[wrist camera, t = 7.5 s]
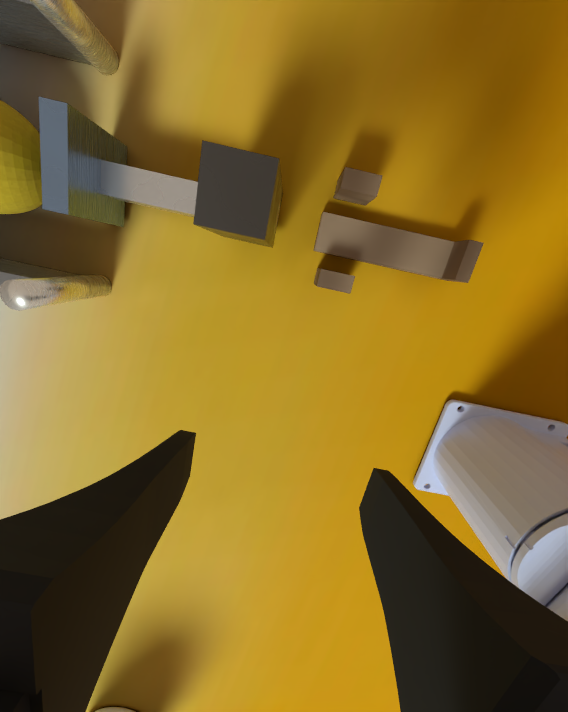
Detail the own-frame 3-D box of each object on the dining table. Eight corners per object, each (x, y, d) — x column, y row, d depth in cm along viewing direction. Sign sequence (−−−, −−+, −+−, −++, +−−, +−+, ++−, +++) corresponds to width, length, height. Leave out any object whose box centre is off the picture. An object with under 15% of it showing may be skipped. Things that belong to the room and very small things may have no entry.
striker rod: (285, 183, 17) (283, 137, 11) (271, 259, 19) (261, 257, 12) (106, 141, 17) (-2, 69, 11) (104, 222, 18) (6, 201, 12)
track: (472, 211, 18) (500, 203, 16) (436, 310, 20) (455, 316, 18) (329, 178, 18) (336, 164, 15) (306, 282, 20) (308, 284, 17)
